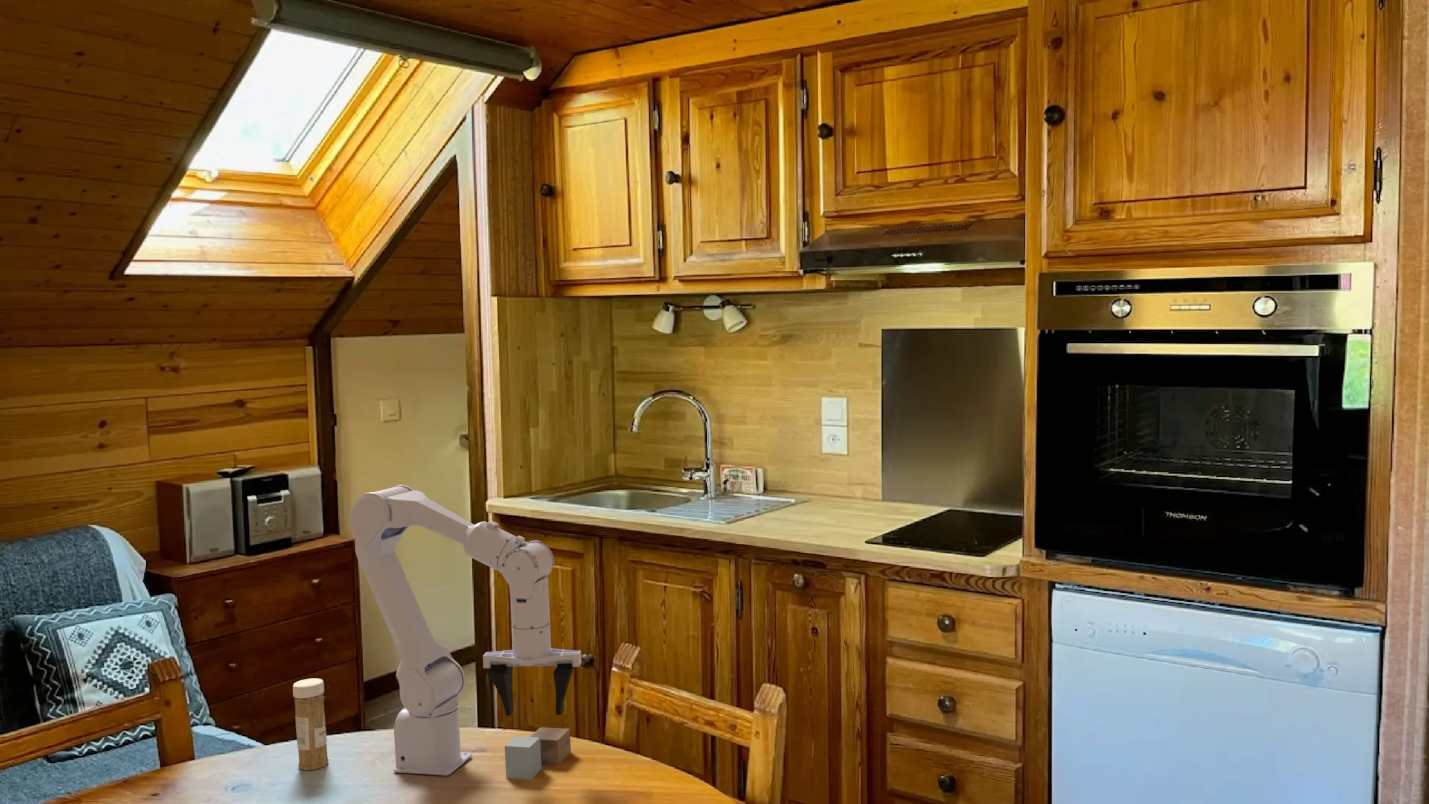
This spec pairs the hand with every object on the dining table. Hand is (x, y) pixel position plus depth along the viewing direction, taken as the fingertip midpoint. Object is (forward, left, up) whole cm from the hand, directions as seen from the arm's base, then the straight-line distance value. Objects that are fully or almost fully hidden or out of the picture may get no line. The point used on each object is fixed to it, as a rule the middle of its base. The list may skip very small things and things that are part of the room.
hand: (534, 713), depth 163 cm
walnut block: (-1, +6, -10) cm, 12 cm away
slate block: (-2, 0, -10) cm, 10 cm away
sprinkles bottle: (-37, -2, -10) cm, 38 cm away
